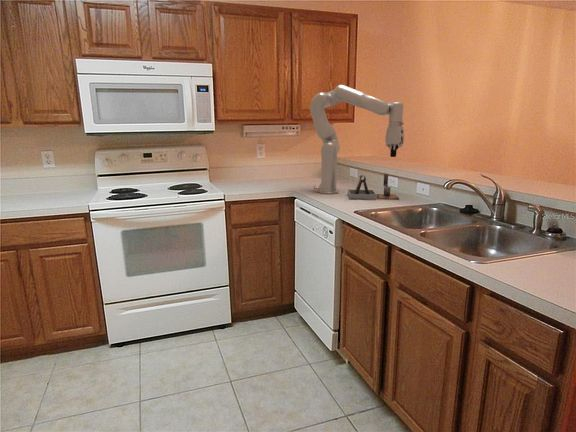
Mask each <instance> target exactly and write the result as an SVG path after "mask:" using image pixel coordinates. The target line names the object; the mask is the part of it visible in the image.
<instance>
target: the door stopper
mask: <svg viewBox="0 0 576 432" xmlns="http://www.w3.org/2000/svg"><path fill="white" fill-rule="evenodd" d="M362 178H363V179H362ZM366 180H367V178H366V176H365V175H364V174H363V175H362V174H361V175H359V181H358V183H357V186H356V187H355V189H354V190H355V192H354V194H358V193H359V190H361V186H362V184H363V187H364V190H365V193H366V194H369V191H368V190H369V188H368V185H367V182H366Z"/></svg>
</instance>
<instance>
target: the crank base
mask: <svg viewBox="0 0 576 432" xmlns="http://www.w3.org/2000/svg"><path fill="white" fill-rule="evenodd" d="M376 194H377V200H385V201H387V200H392V201H396V200H397V201H400V197H399V196H398V195H397V194H396V193H394V194H393V193H390V196H384V193H376Z"/></svg>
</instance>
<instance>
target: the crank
mask: <svg viewBox="0 0 576 432" xmlns="http://www.w3.org/2000/svg"><path fill="white" fill-rule="evenodd" d="M388 184H389V173H383V194H384V196H390V194H391V186H388Z"/></svg>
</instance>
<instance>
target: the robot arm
mask: <svg viewBox="0 0 576 432" xmlns="http://www.w3.org/2000/svg"><path fill="white" fill-rule="evenodd" d="M342 102H344V103H347V104H349V105H352V106H353V107H357V108H360V109H364V110H366V111H369V112H372V113H374V114H376V115H379V116H388V126H387V127H386V128H387V129H386V131H385V137H384V138H385V139H384V140H385V147H388V148H389V150H390V152H389V153H390V155H389V157H391V158H396V157H397V150H398V149H399V148H401V147H403V145H404V143H405V130H404V127H403V126H404V124H405V123H404V122H403V119H404V103H403V102H401V101H392V102H386V101H384V100H382V99H378V98H376V97H374V96H371V95H369V94H367V93H365V92H363V91H361V90H358V89H354V88H353V87H350V86H347V85H345V84H338V85H336V86H335V88H334V89H333V90H330V91H328V92H325V91H321V92H318V93H317V94H315V95H314V96H313V98H312V99H311V101H310V104H309V105H310V106H309V111H310V114H311V118H312V121H313V125H314V129H315V131H316V135H317V137H318V138H319V139H320V140H321V141H322V145H321V149H320V157H321V159H320V160H321V162H320V163H321V172H320V175H321V176H320V185H314V186H313V190H317V191H318V193H319V194H324V195H336V194H339V192H340V191H339V190H338V189H337V182H338V181H337V180H338V179H337V178H338V177H337V176H338V154H339V152H340V150H341V149H340V148H341V146H340V142H339V138H338V136H337V133H336V131H335V128H334V126H333V125H332V124H331V123H330V122H329V120H328V116H327V114H326V110H325V108H329V107H331V106H335V105H337V104H340V103H342Z"/></svg>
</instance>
